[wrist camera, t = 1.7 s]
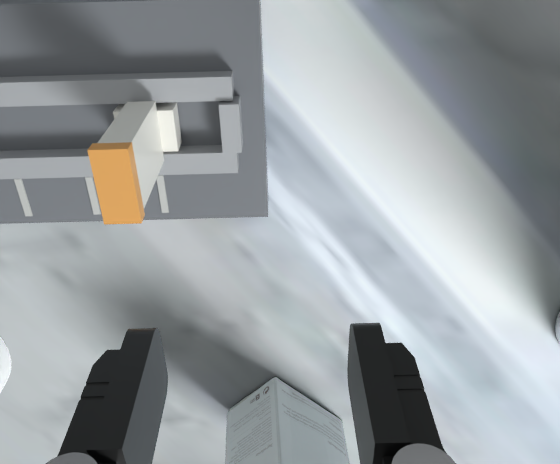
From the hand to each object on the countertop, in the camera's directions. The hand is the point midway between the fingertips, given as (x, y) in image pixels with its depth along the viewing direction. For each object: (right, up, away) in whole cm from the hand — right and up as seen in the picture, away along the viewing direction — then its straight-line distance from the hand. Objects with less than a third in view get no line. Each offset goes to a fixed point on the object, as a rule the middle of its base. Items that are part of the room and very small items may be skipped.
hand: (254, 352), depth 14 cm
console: (-12, +10, +16) cm, 23 cm away
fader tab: (-6, +9, +15) cm, 18 cm away
